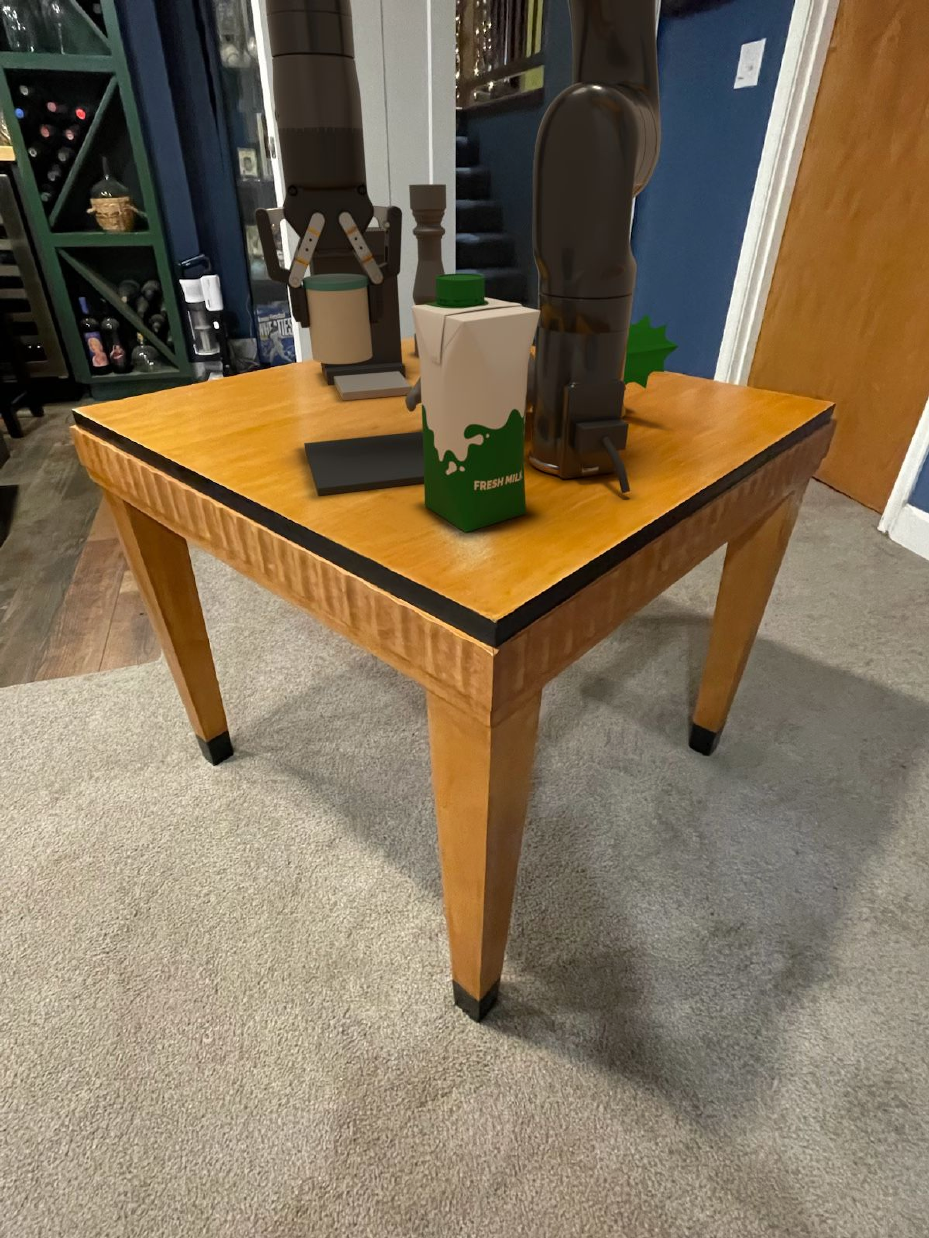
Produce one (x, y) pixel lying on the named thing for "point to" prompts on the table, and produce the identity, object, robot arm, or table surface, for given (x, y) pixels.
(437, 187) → the candle holder
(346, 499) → the table surface
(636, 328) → the ornament
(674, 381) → the table surface
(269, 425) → the table surface
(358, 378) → the coffee maker
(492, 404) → the fresh milk carton
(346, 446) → the mat
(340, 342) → the container
